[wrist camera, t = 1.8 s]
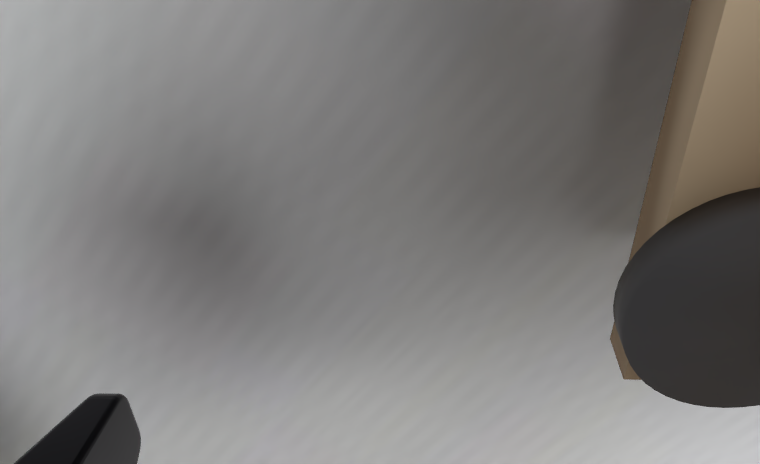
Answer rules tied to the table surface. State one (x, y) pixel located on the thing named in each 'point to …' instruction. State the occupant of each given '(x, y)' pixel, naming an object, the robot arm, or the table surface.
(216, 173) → the table surface
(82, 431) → the robot arm
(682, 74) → the lever
